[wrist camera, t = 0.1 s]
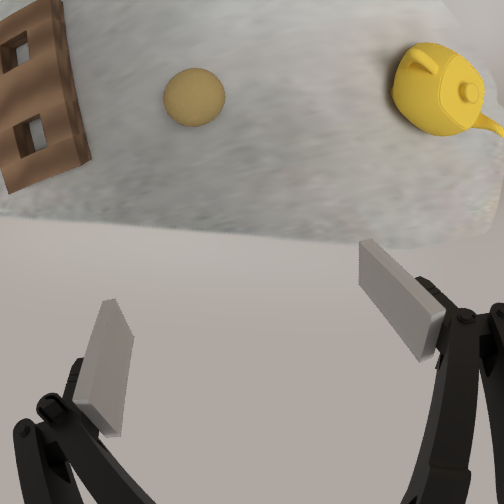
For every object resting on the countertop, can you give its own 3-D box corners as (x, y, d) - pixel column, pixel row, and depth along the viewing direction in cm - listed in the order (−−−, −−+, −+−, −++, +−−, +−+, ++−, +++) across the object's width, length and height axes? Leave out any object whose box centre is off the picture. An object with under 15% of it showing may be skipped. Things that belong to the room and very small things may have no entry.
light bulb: (191, 132, 38) (190, 141, 29) (158, 98, 35) (147, 96, 26) (230, 100, 37) (241, 99, 28) (197, 64, 34) (198, 52, 25)
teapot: (443, 154, 45) (495, 174, 34) (355, 92, 39) (408, 94, 28) (468, 92, 40) (520, 101, 29) (387, 22, 34) (440, 9, 23)
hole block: (-6, 39, 25) (-22, 36, 21) (62, 2, 25) (49, -7, 22) (23, 185, 36) (8, 194, 32) (91, 158, 37) (80, 165, 33)
